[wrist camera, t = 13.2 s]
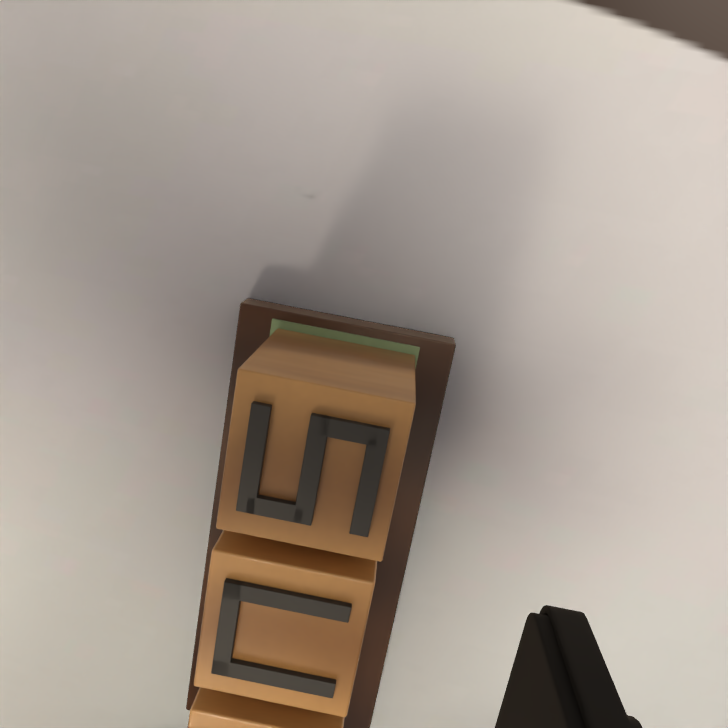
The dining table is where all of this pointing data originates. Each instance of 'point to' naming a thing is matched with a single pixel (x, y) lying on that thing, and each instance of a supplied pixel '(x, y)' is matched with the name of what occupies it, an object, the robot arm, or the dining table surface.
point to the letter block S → (318, 443)
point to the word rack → (308, 570)
